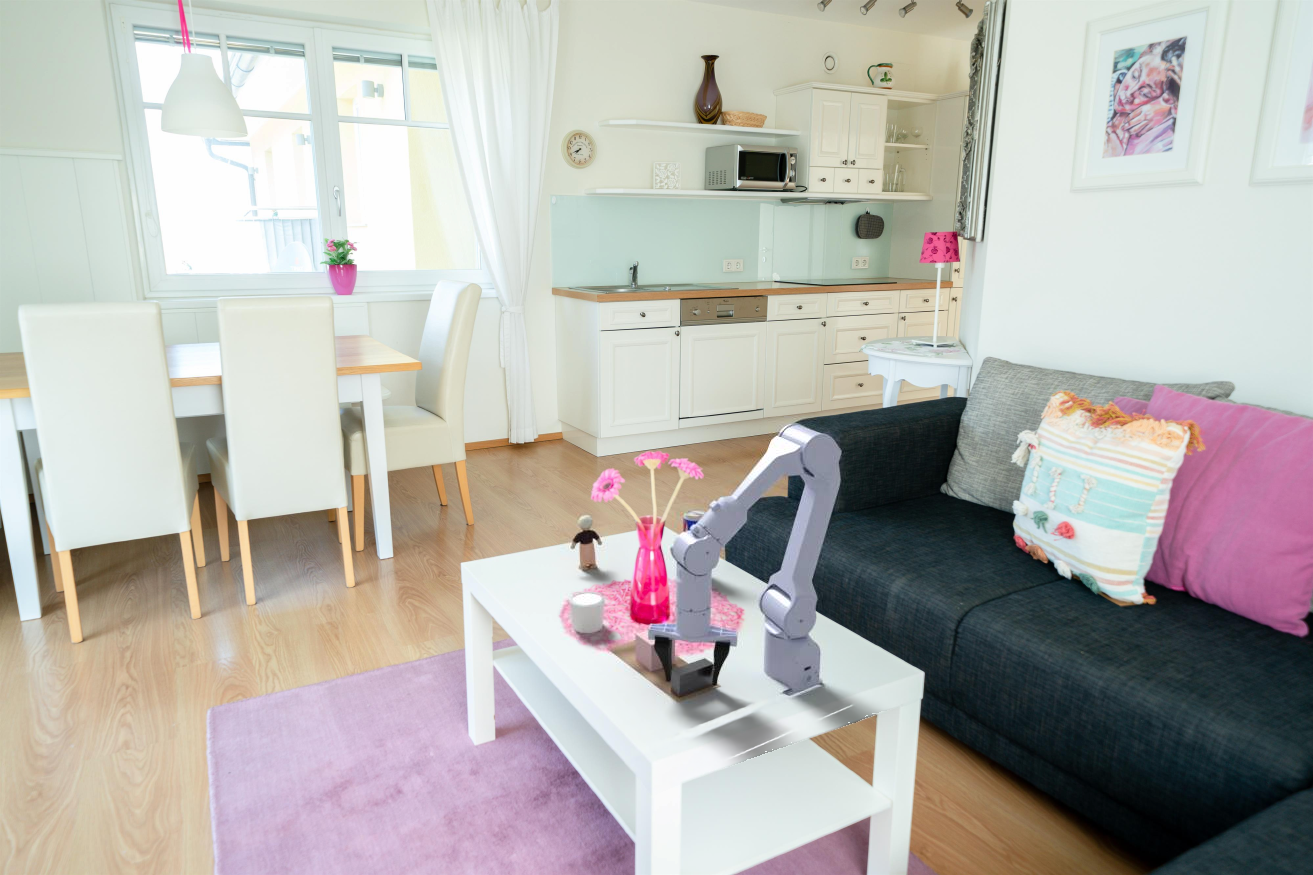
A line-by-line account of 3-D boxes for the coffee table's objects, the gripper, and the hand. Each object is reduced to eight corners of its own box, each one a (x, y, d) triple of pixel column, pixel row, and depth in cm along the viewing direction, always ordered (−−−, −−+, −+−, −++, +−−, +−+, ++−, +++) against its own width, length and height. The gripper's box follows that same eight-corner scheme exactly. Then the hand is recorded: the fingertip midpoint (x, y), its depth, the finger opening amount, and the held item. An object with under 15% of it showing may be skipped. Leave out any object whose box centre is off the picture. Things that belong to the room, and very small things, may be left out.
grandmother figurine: (594, 561, 196) (594, 510, 193) (604, 566, 193) (603, 514, 190) (567, 569, 191) (566, 517, 188) (576, 574, 188) (575, 521, 185)
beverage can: (678, 577, 186) (679, 514, 183) (688, 569, 190) (689, 508, 187) (699, 581, 184) (700, 517, 180) (709, 573, 188) (710, 511, 185)
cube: (674, 663, 145) (675, 637, 144) (651, 671, 142) (651, 644, 141) (658, 652, 149) (658, 626, 148) (635, 659, 146) (635, 633, 145)
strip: (720, 691, 138) (721, 664, 137) (677, 707, 133) (677, 679, 132) (648, 640, 156) (648, 616, 154) (607, 653, 151) (607, 628, 149)
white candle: (611, 634, 158) (610, 601, 157) (578, 643, 155) (578, 608, 153) (595, 621, 164) (595, 588, 163) (564, 628, 161) (563, 595, 159)
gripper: (739, 597, 136) (737, 672, 139) (653, 591, 138) (652, 665, 141) (736, 616, 129) (734, 694, 132) (646, 609, 132) (645, 686, 135)
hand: (691, 680), depth 136 cm, fingers open, 7 cm apart
